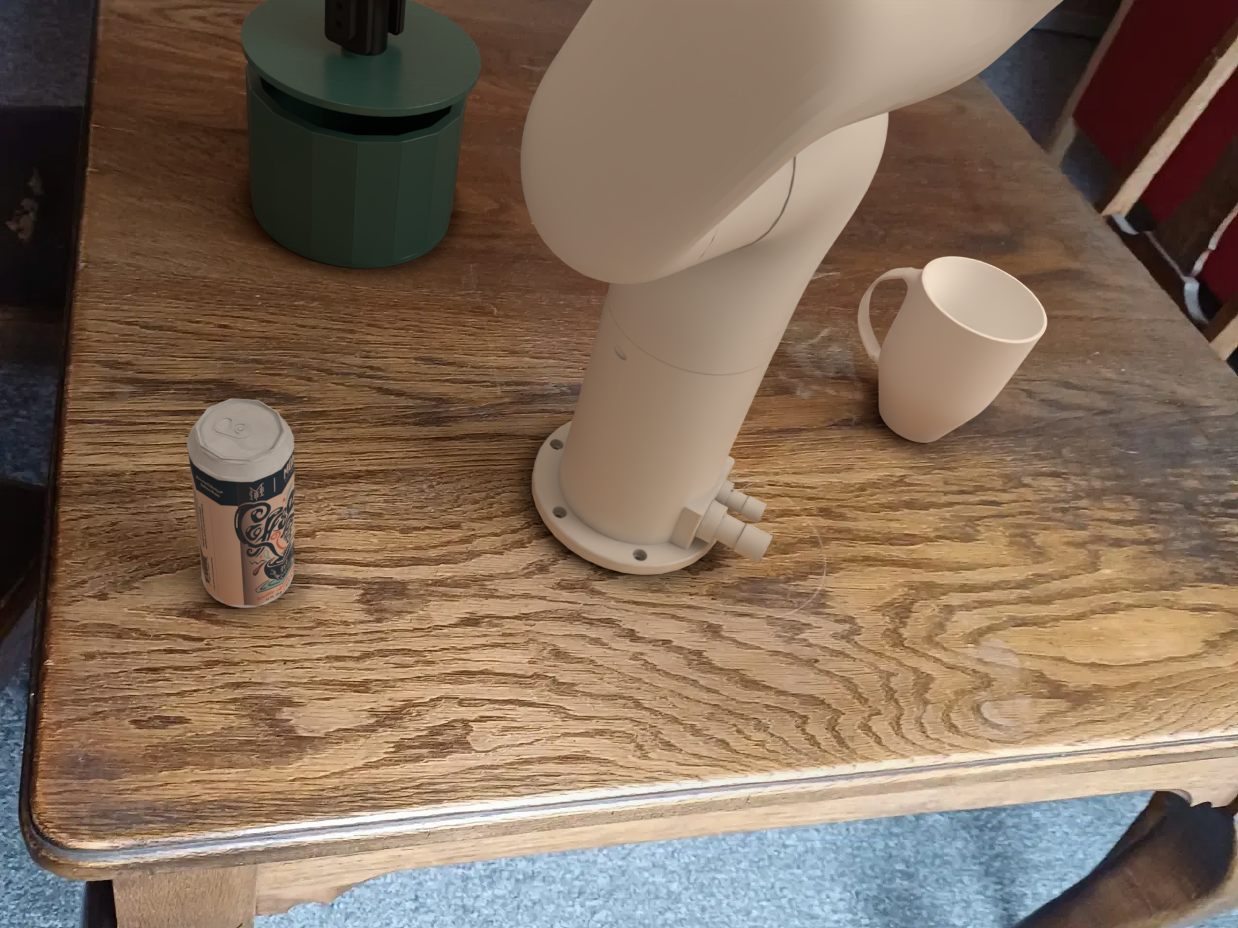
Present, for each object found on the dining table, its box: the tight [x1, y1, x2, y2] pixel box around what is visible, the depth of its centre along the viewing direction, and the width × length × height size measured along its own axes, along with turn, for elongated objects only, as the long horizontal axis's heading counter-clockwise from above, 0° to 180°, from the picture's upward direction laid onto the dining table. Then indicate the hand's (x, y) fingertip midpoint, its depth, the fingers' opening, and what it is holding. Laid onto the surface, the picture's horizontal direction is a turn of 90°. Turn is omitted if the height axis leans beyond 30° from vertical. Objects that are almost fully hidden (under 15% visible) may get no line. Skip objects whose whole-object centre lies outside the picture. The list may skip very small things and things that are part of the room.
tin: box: [244, 62, 468, 269], centre depth 78 cm, size 15×15×10 cm
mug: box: [857, 255, 1048, 444], centre depth 76 cm, size 12×9×12 cm
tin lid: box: [240, 0, 482, 117], centre depth 70 cm, size 16×16×7 cm
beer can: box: [186, 398, 295, 609], centre depth 54 cm, size 5×5×12 cm
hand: (364, 34), depth 71 cm, fingers closed on tin lid, 3 cm apart
